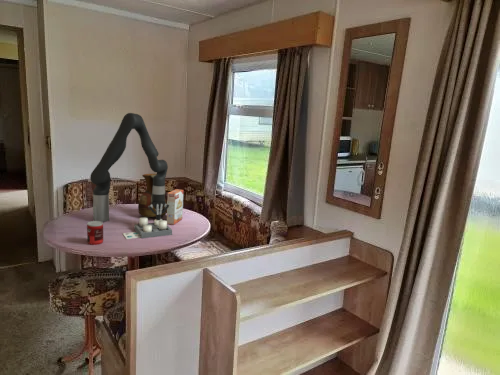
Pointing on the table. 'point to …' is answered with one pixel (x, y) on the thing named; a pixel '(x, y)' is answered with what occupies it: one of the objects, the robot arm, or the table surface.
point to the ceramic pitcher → (148, 198)
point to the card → (131, 235)
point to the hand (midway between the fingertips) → (158, 219)
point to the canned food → (95, 232)
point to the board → (154, 232)
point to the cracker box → (175, 206)
